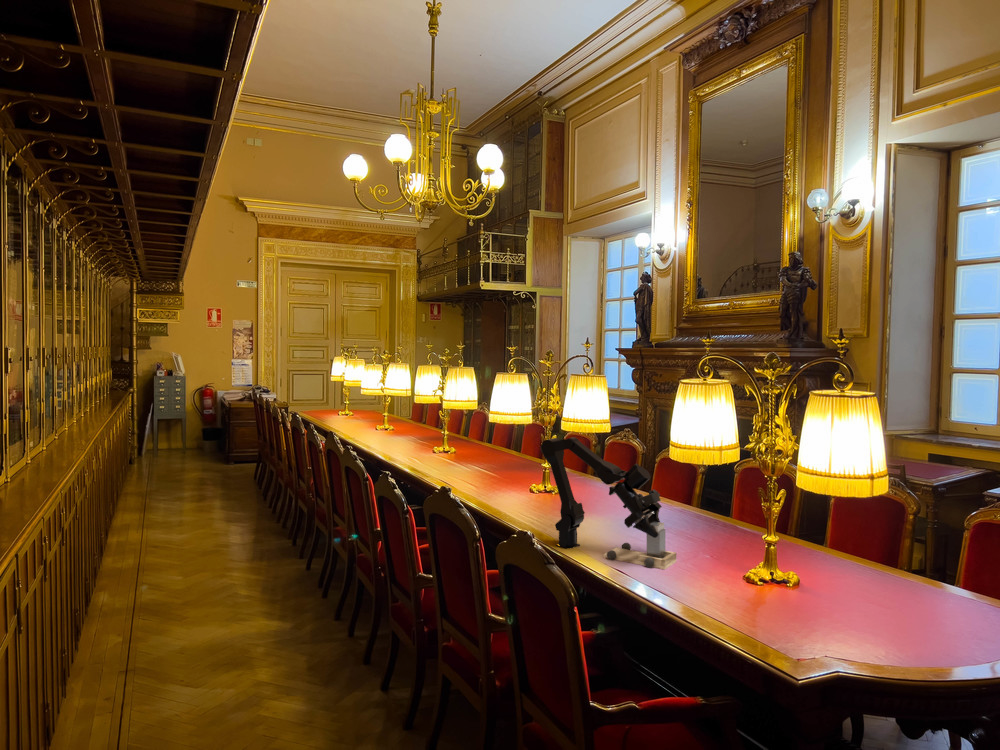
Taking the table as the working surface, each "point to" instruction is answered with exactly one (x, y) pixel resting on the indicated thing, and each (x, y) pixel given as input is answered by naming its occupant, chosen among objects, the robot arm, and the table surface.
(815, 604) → the table surface
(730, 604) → the table surface
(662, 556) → the grey rectangular block
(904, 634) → the table surface
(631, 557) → the chassis
